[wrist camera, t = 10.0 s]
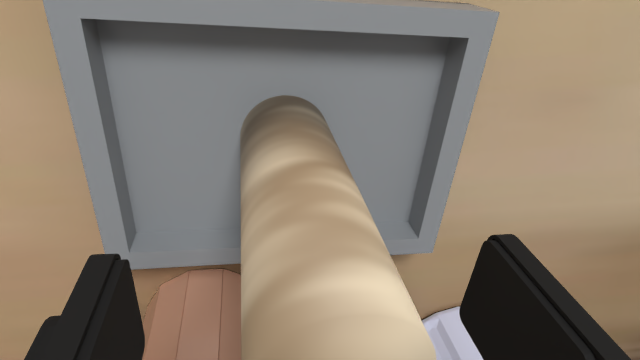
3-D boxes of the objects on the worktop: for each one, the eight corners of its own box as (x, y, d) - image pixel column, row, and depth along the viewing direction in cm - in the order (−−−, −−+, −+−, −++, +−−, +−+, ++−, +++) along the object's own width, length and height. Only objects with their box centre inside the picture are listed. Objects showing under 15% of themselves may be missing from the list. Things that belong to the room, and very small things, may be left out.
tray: (468, 3, 18) (499, 12, 16) (415, 224, 24) (432, 252, 21) (67, -24, 15) (38, -18, 13) (122, 236, 21) (109, 271, 19)
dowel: (332, 96, 18) (457, 306, 8) (324, 175, 20) (415, 426, 10) (239, 94, 17) (239, 324, 7) (241, 176, 19) (243, 450, 9)
